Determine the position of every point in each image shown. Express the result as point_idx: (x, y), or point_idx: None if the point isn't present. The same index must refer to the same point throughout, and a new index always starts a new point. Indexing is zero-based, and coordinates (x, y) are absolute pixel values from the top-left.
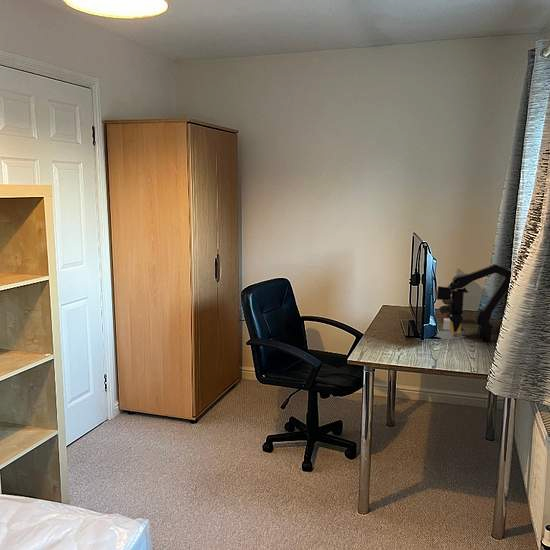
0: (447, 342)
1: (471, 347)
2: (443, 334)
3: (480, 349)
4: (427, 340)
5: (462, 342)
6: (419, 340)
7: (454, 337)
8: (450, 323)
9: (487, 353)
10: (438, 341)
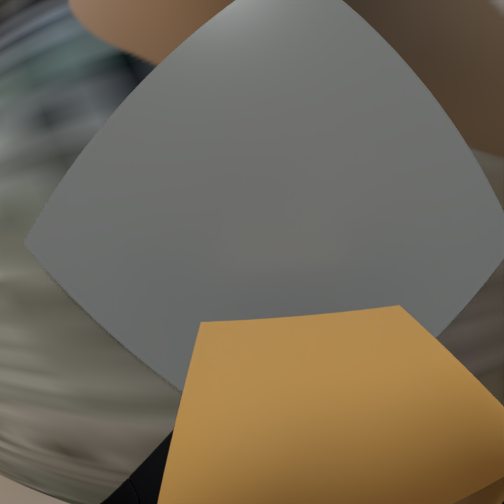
0: (32, 274)
1: (37, 442)
2: (305, 197)
3: (41, 472)
4: (21, 57)
5: (130, 413)
6: (9, 6)
7: (188, 362)
8: (166, 476)
9: (6, 474)
10: (21, 172)
